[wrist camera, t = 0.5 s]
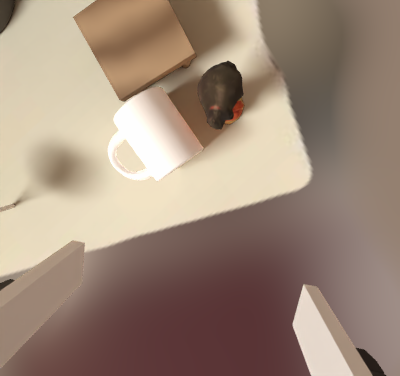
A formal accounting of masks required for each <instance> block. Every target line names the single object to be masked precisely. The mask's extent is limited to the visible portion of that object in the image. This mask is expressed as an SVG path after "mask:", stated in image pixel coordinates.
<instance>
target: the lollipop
mask: <svg viewBox="0 0 400 376" xmlns="http://www.w3.org/2000/svg"><path fill="white" fill-rule="evenodd" d="M14 207H15V205H14V204H11V205H8V206H4V207H1V208H0V212H2V211H5V210H8V209H11V208H14Z"/></svg>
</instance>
